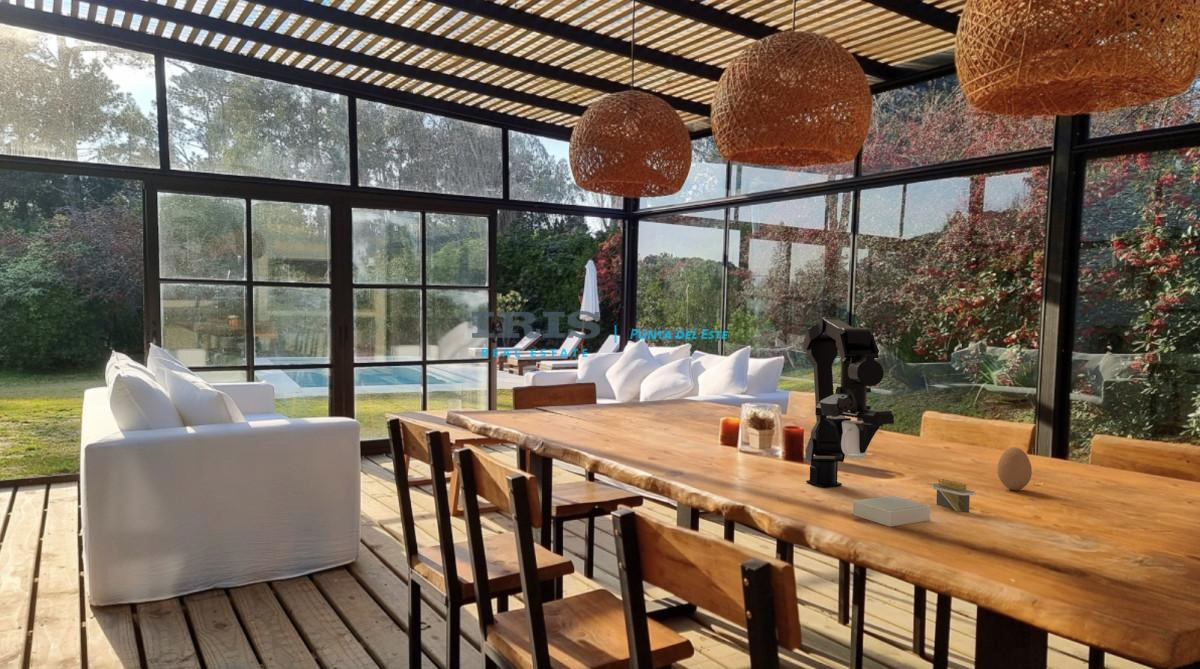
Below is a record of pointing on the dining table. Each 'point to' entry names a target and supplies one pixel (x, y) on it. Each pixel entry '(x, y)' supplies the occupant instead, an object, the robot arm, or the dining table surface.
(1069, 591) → the dining table surface
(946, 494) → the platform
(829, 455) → the robot arm
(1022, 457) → the egg
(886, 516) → the slab
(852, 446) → the cup
